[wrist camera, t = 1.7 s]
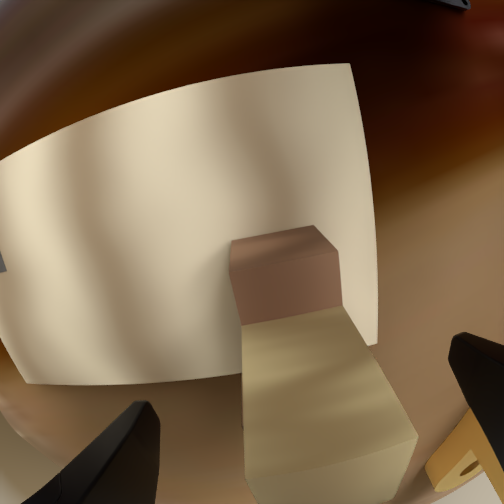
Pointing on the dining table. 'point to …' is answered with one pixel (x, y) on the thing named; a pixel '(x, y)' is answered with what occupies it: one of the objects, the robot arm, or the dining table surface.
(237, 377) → the dining table surface
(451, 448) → the clamp
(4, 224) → the board
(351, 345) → the stacked cube assembly
